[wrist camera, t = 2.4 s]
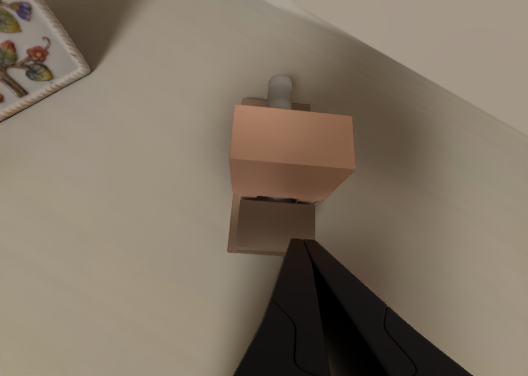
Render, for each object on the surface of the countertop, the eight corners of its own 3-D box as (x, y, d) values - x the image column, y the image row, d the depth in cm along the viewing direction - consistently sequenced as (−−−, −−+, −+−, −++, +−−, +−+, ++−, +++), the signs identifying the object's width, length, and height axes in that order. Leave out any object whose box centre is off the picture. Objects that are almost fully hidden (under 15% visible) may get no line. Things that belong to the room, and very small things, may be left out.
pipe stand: (307, 257, 20) (326, 251, 16) (228, 252, 20) (224, 244, 16) (307, 112, 25) (321, 76, 21) (242, 106, 25) (243, 68, 20)
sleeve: (310, 212, 20) (355, 169, 12) (234, 206, 20) (228, 158, 12) (309, 177, 21) (351, 115, 13) (237, 171, 21) (234, 104, 13)
